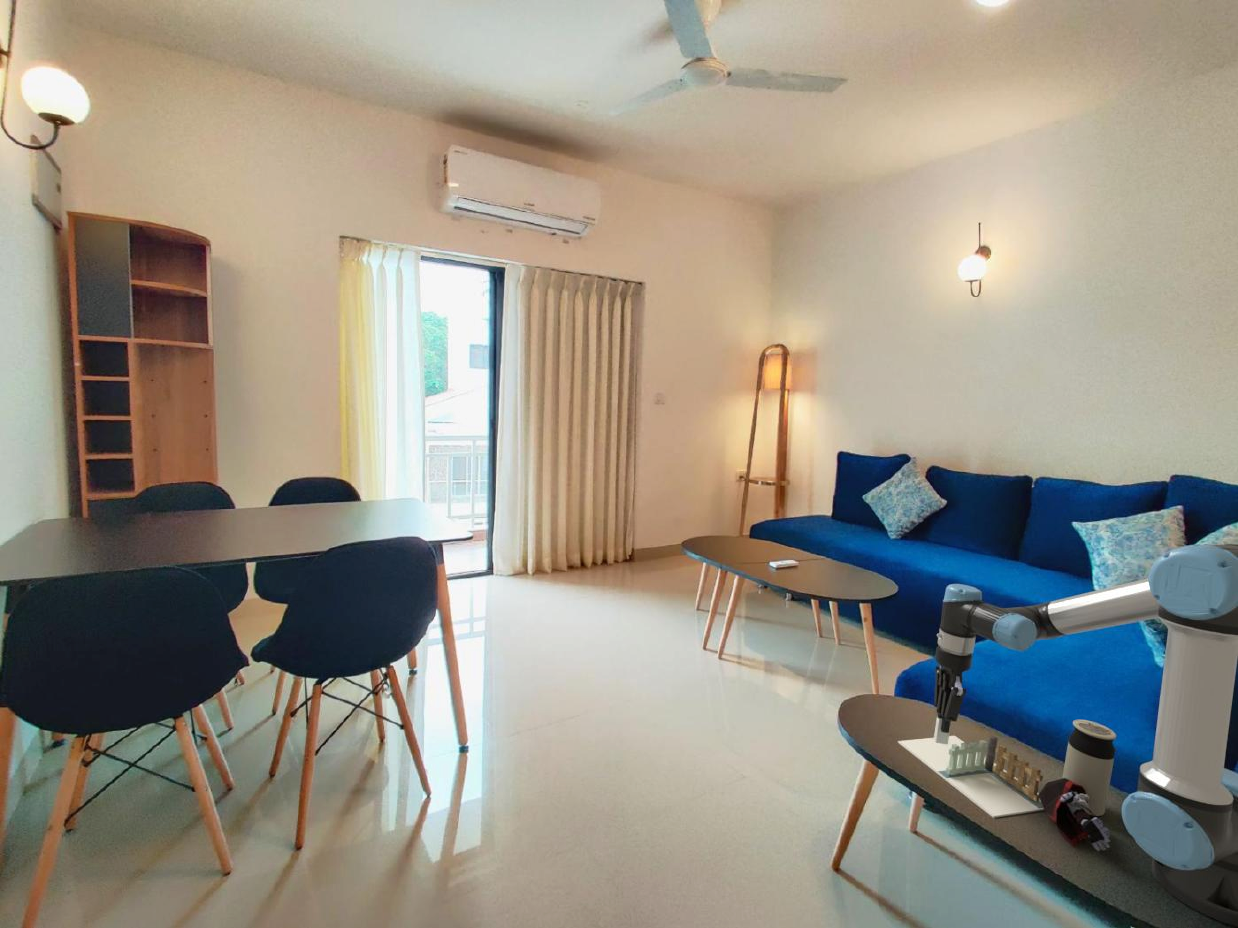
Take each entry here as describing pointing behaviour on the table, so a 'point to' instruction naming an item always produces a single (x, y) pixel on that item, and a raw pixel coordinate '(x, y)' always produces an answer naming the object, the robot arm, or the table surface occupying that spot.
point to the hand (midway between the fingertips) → (940, 741)
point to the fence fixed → (1012, 768)
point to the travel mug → (1091, 761)
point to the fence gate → (962, 753)
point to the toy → (1073, 813)
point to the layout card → (973, 780)
